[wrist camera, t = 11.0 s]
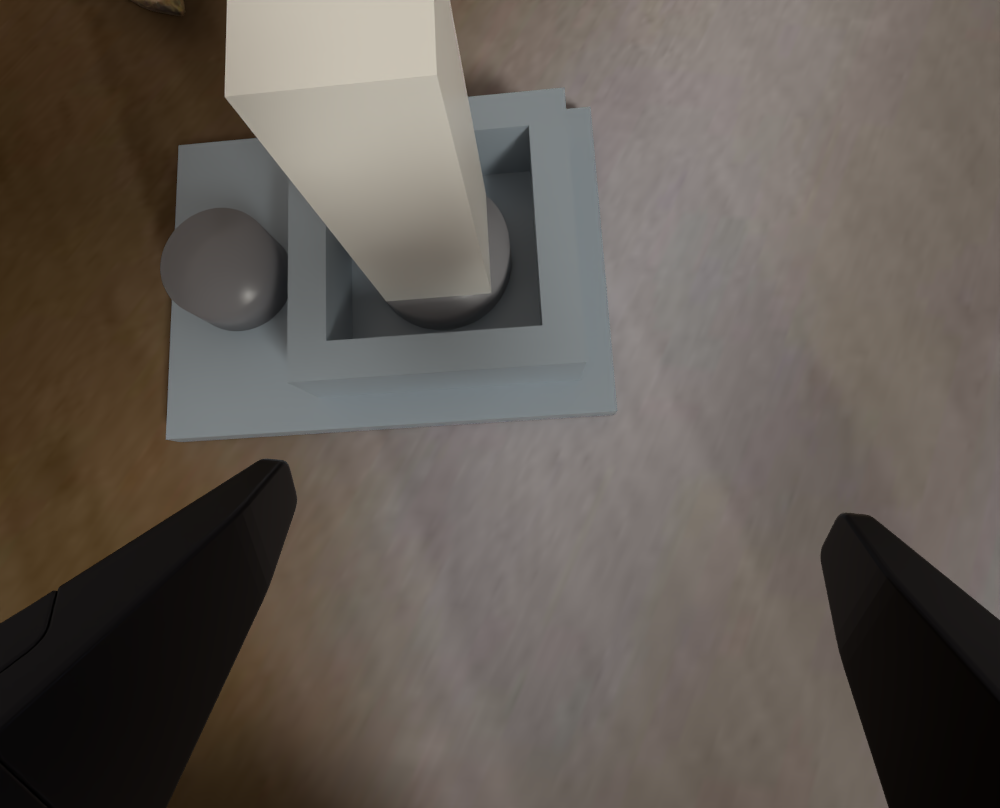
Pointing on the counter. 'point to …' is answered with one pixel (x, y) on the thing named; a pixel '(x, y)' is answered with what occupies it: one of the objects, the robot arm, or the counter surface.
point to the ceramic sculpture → (163, 6)
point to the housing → (363, 311)
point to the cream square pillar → (376, 143)
